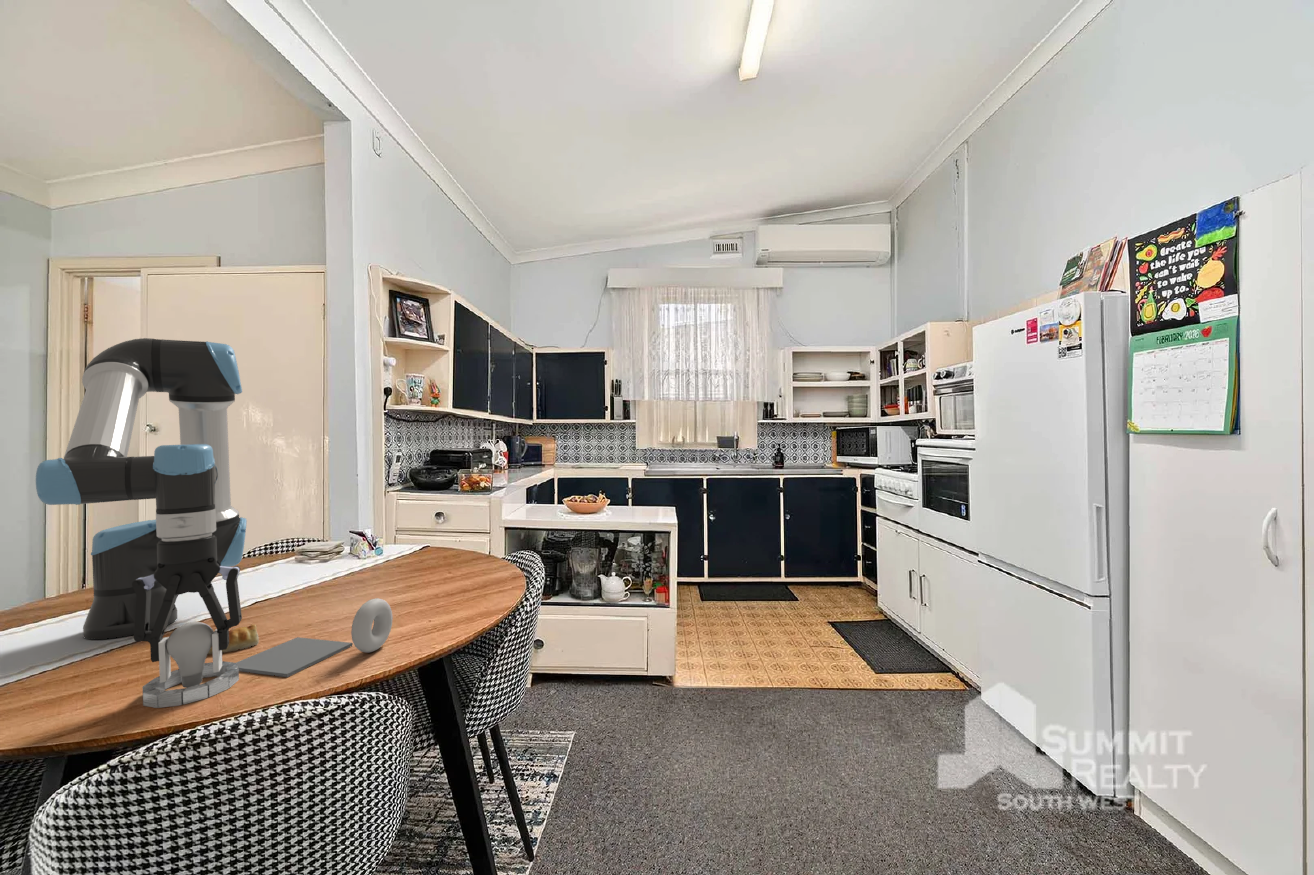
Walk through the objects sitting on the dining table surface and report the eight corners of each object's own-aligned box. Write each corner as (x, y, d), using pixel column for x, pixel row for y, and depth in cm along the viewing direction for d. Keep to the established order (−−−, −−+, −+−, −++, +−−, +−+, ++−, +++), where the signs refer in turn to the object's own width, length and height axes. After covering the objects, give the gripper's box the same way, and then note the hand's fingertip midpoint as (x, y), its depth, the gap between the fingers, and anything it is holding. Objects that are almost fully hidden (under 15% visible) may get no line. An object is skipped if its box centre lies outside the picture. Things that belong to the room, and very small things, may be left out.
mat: (226, 669, 97) (226, 666, 97) (297, 640, 111) (297, 637, 111) (287, 677, 94) (287, 673, 94) (352, 645, 107) (352, 642, 107)
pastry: (200, 660, 102) (199, 640, 102) (198, 650, 107) (198, 631, 107) (261, 646, 109) (260, 627, 109) (257, 637, 114) (256, 619, 114)
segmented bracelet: (123, 702, 86) (123, 690, 86) (204, 669, 97) (204, 658, 97) (178, 711, 83) (177, 698, 83) (255, 676, 94) (254, 665, 94)
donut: (364, 661, 99) (363, 608, 99) (347, 661, 100) (346, 607, 100) (397, 640, 109) (395, 591, 109) (381, 640, 110) (379, 591, 110)
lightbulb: (194, 678, 94) (192, 616, 93) (225, 680, 93) (223, 617, 93) (157, 696, 88) (155, 629, 87) (190, 698, 87) (188, 630, 87)
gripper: (99, 548, 82) (105, 698, 82) (254, 533, 91) (258, 669, 92) (118, 539, 88) (123, 679, 89) (261, 527, 98) (265, 653, 98)
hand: (192, 673), depth 90 cm, fingers closed on lightbulb, 6 cm apart
